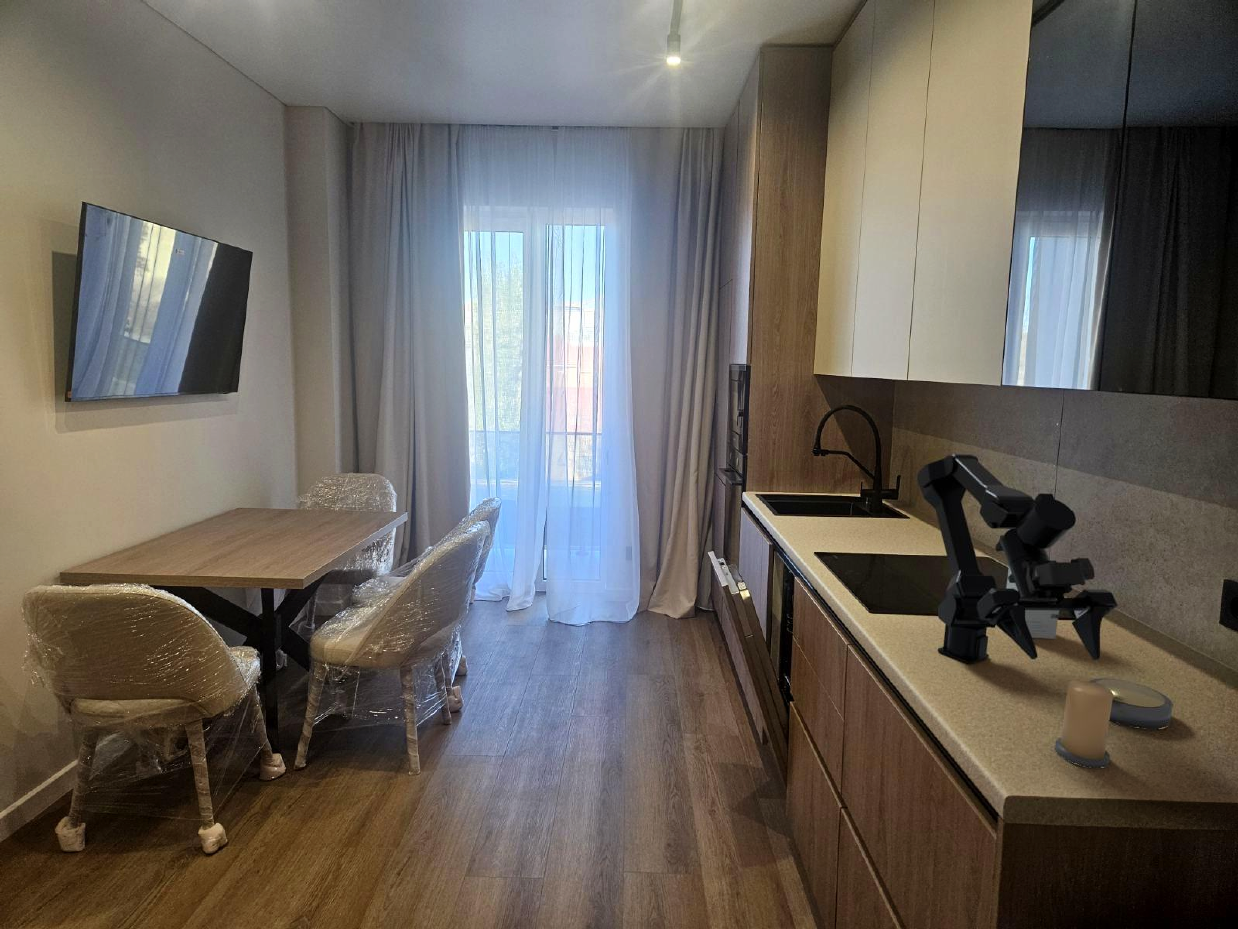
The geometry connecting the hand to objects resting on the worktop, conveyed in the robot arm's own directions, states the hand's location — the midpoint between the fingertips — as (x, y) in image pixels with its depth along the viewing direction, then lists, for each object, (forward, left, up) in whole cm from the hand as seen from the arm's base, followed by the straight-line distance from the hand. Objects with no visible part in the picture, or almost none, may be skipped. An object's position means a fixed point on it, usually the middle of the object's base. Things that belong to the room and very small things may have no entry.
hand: (1066, 658), depth 104 cm
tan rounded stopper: (+5, -3, -12) cm, 13 cm away
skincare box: (-24, +36, -12) cm, 45 cm away
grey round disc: (+2, +17, -12) cm, 21 cm away
